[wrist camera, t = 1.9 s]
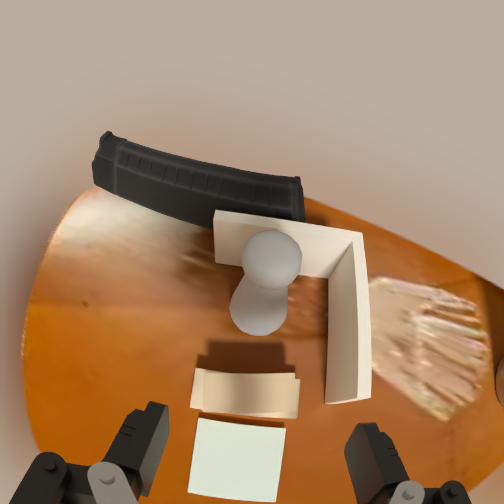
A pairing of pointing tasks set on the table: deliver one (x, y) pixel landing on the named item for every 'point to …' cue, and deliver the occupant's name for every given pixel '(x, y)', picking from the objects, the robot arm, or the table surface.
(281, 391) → the offcut short
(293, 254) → the salt shaker
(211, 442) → the tile
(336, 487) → the table surface
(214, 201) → the magazine
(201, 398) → the block
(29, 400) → the table surface
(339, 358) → the bracket
